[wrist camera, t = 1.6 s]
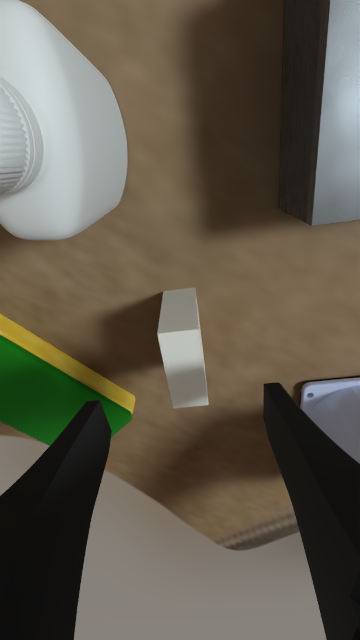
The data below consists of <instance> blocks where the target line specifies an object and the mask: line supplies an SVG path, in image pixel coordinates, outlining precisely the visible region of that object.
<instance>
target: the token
mask: <svg viewBox="0 0 360 640" xmlns="http://www.w3.org/2000/svg"><path fill="white" fill-rule="evenodd" d="M157 335H158V340H159V344H160V349H161V354H162V359H163V363H164V368H165V373H166V377H167V382H168V387H169V391H170V396H171V401H172V405H173V408H181V407H192V406H202V405H209V404H208V395H207V385H206V375H205V365H204V355H203V347H202V339H201V331H200V323H199V315H198V307H197V299H196V291H195V288H187V289H179V290H171V291H163V298H162V305H161V312H160V318H159V325H158V332H157Z"/></svg>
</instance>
